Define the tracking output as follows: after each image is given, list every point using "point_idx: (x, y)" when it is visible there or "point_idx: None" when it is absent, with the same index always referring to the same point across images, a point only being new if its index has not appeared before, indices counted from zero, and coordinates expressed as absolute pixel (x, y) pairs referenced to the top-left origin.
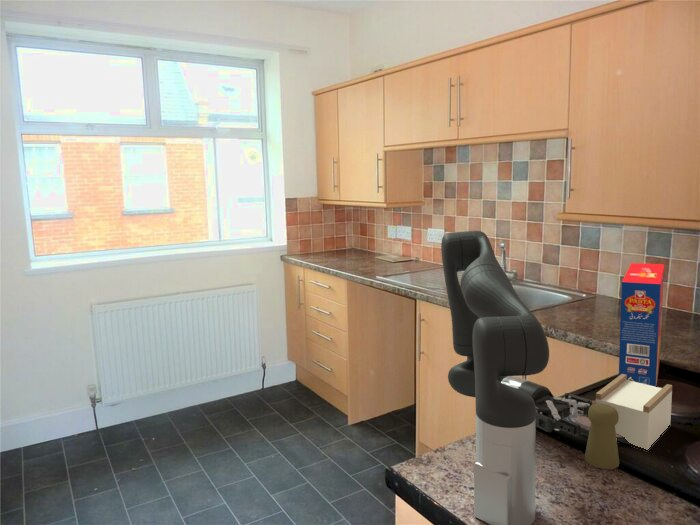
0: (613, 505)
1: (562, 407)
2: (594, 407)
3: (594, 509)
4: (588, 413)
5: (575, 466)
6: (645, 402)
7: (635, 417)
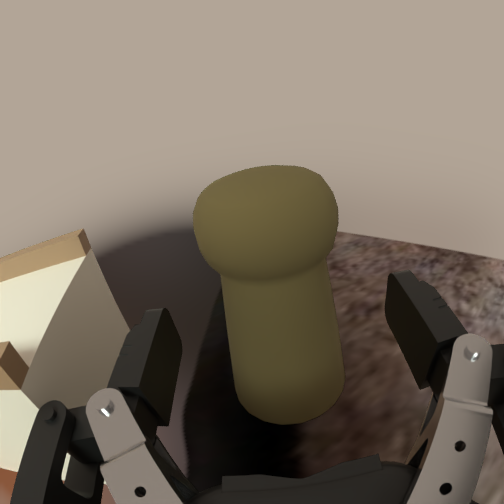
0: (407, 262)
1: (302, 493)
2: (299, 179)
3: (446, 263)
4: (327, 225)
5: (397, 381)
6: (19, 283)
7: (91, 295)
